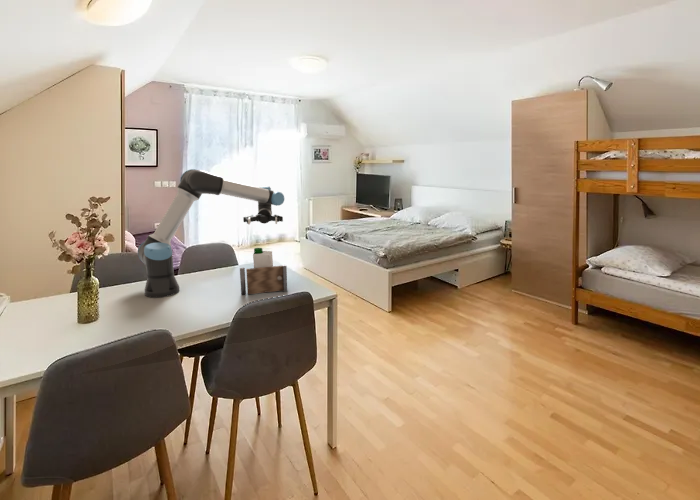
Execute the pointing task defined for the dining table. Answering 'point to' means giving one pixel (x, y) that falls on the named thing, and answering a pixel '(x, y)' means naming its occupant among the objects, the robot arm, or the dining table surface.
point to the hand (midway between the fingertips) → (262, 221)
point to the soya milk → (262, 258)
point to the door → (264, 279)
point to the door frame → (243, 285)
